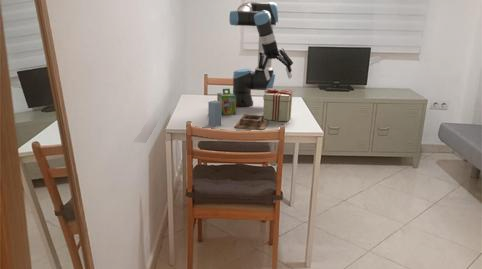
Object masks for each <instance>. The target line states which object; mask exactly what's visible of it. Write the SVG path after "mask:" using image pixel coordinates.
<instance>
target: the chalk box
mask: <svg viewBox="0 0 482 269" xmlns="http://www.w3.org/2000/svg"><path fill="white" fill-rule="evenodd" d="M230 89H231V88H222V92H219V93H217V98H216V99H217V100H216V101H220V102H222V109H221V116H226V115H228V116H229V115H236V112H237V111H236V109H237V107H236V96H235V95H234V94H233V92H232V93H231V90H230ZM226 91H227V92H226Z"/></svg>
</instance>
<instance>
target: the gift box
mask: <svg viewBox="0 0 482 269" xmlns="http://www.w3.org/2000/svg"><path fill="white" fill-rule="evenodd" d="M263 92H265V93H264V94H263V98H262V99H263V111H262V112H263V115H262V116H264V121H277V122H288V121H289V119H290V118H291V117H292V104H293V103H292V102H293V96H294V91H292V90H291V89H282V90H278V89H276V88H274V87H273V88H268V89H267V90H263Z"/></svg>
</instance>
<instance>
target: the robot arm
mask: <svg viewBox="0 0 482 269" xmlns="http://www.w3.org/2000/svg"><path fill="white" fill-rule="evenodd" d="M278 14H279V11H278V4H277V3H276V2H271V1H248V2H245V3H242V4H240V5H239V6H238V7H237V9H236V10H231V11H229V25H230V26H235V27H237V26H243V27H244V26H246V27H247V26H248V27H256V30H257V32H258V49H257V50H258V51H257V53H258V54H257V66H256V67H255V69H254V71H253V70H252V68H239V69H236V70H234V72H233V76H232V80H233V81H232V94H234V95H235V96H236V108H251V107H253V106H254V101H253V97H252V90H253V91H265V90H267V89H268V88H273V89H274V83H275V79H276V71H274V68H273V67H272V61H273V60H278V61H279V62H280V63H282V64H283V65H284V66H285V70H286V74H287V78H288V79H289V80H291V78H292V77H293V75H292V72H293V70H292V67H291V66H292V65H293V64H294V61H292V59H291V58H290V56H288V54H287V53H286V52H285V49H284V47H282V48H281V49H279V48H278V43H277V40H276V38H275V37H276V36H275V33H274V28H275V26H276V24H277V23H279V15H278Z"/></svg>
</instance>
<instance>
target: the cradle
mask: <svg viewBox="0 0 482 269" xmlns="http://www.w3.org/2000/svg"><path fill="white" fill-rule="evenodd" d="M269 122H270V120H265V119H264V116H263V115H259V114H258V115H257V114H247V113H244V114H243V115H242V116H241V117H240V119H239V121H237V123H236V124H234V128H235V129H240V130H241V129H243V130H255V131H262V130H266V127H267V126H268V125H269Z"/></svg>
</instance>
